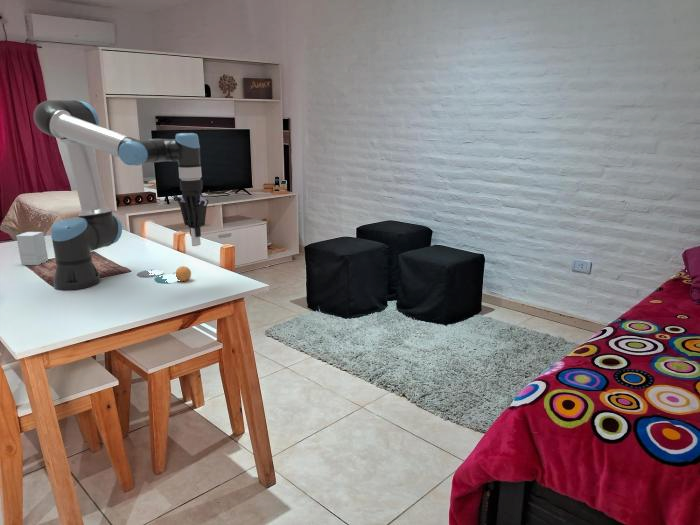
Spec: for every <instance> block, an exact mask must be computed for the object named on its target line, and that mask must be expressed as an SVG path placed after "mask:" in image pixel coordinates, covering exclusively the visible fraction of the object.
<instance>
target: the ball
mask: <svg viewBox="0 0 700 525" xmlns="http://www.w3.org/2000/svg"><path fill="white" fill-rule="evenodd" d="M175 273H176V277H177V279H178V280H180V281H182V282H186V281H188V280H190V278H191V276H192V272H191V269H190V268H189V267H188V266H182V265H181V266H179V267H178V268H177V269H176V270H175Z"/></svg>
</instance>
